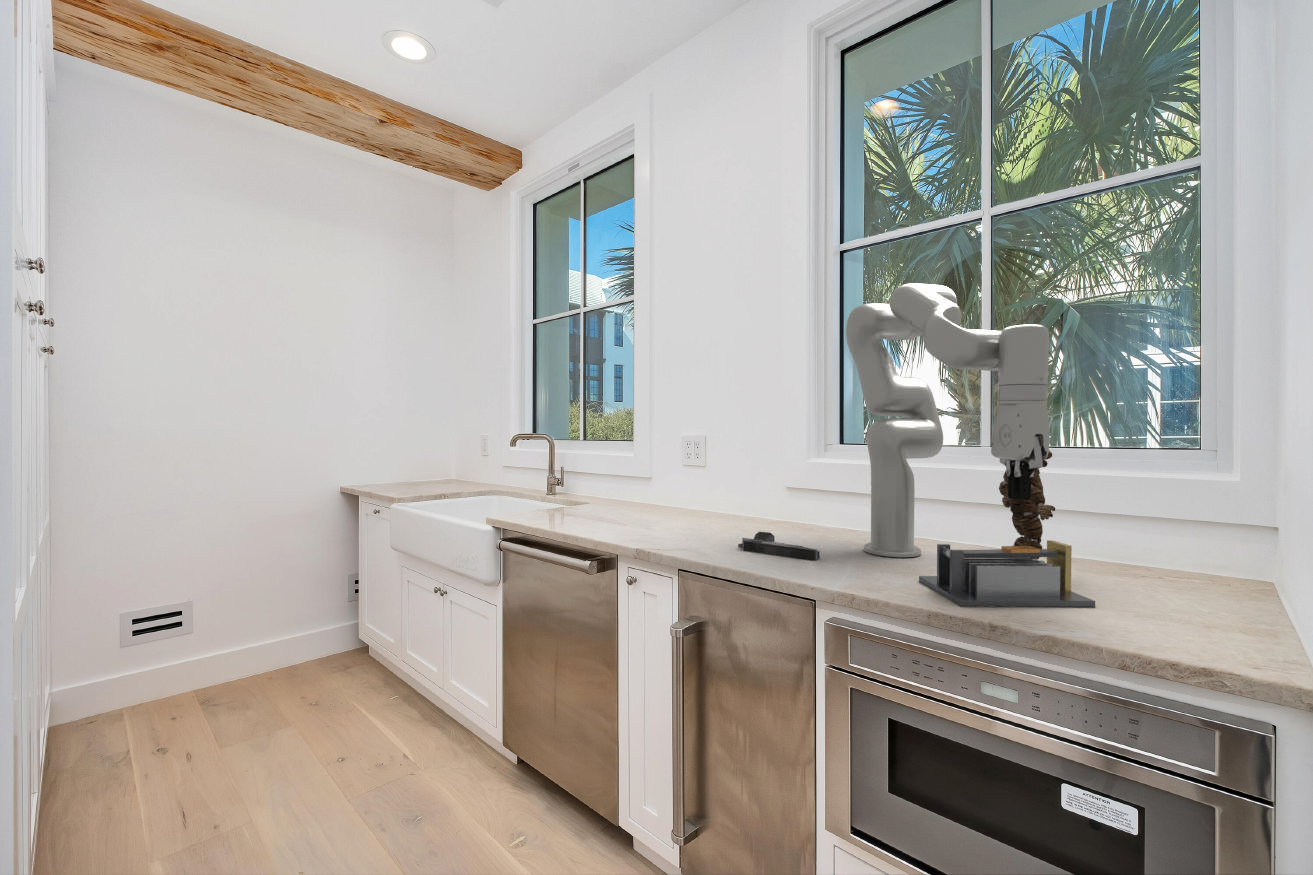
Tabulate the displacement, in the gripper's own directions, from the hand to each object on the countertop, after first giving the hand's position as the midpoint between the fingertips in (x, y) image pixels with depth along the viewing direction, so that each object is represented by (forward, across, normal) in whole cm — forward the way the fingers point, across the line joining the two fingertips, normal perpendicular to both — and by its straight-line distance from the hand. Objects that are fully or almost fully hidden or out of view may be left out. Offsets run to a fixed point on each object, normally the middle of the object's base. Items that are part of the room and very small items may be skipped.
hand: (1019, 498), depth 105 cm
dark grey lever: (+10, +1, -4) cm, 11 cm away
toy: (+17, -15, +12) cm, 26 cm away
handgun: (+18, -35, -34) cm, 53 cm away
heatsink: (+17, +1, -3) cm, 17 cm away
